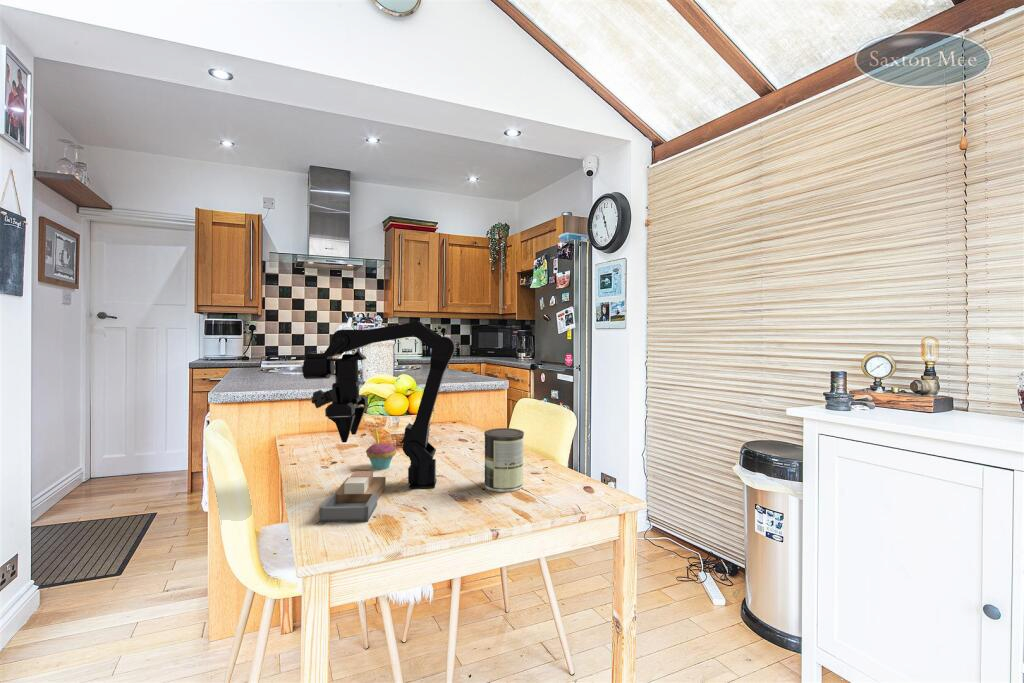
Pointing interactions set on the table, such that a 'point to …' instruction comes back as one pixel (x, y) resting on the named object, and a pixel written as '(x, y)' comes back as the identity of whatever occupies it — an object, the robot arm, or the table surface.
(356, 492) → the cream tile
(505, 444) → the coffee can
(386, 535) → the table surface
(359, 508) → the tray
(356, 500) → the walnut board
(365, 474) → the terracotta tile
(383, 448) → the cupcake
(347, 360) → the robot arm
